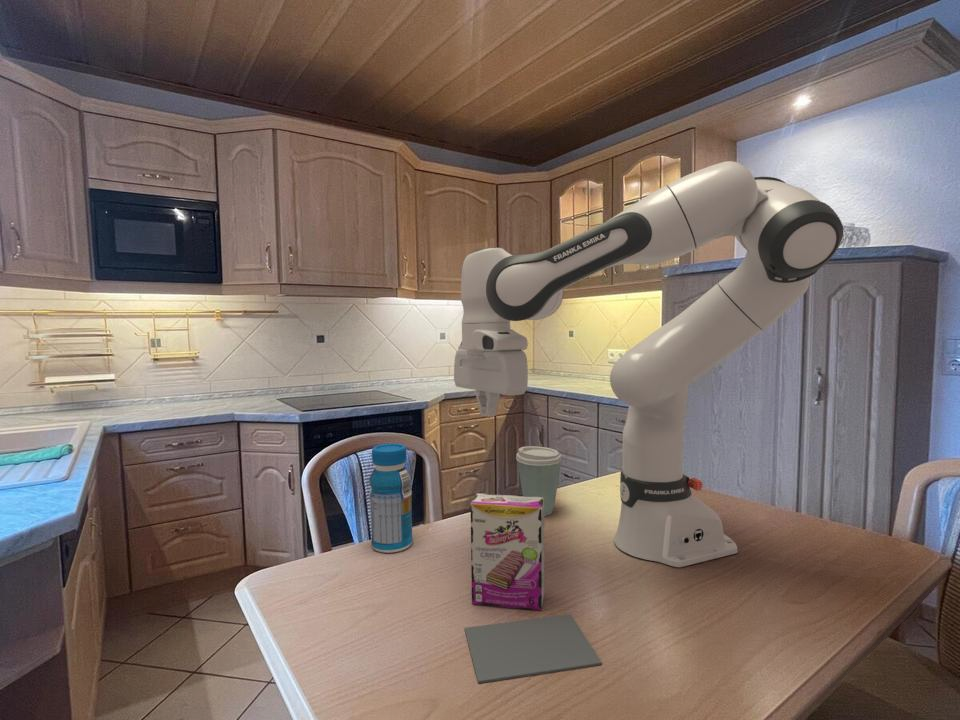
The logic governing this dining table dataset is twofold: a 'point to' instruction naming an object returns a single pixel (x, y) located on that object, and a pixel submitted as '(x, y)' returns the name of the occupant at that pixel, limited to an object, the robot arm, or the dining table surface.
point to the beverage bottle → (390, 499)
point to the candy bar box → (507, 551)
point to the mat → (529, 648)
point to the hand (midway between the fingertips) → (487, 415)
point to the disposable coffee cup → (539, 473)
